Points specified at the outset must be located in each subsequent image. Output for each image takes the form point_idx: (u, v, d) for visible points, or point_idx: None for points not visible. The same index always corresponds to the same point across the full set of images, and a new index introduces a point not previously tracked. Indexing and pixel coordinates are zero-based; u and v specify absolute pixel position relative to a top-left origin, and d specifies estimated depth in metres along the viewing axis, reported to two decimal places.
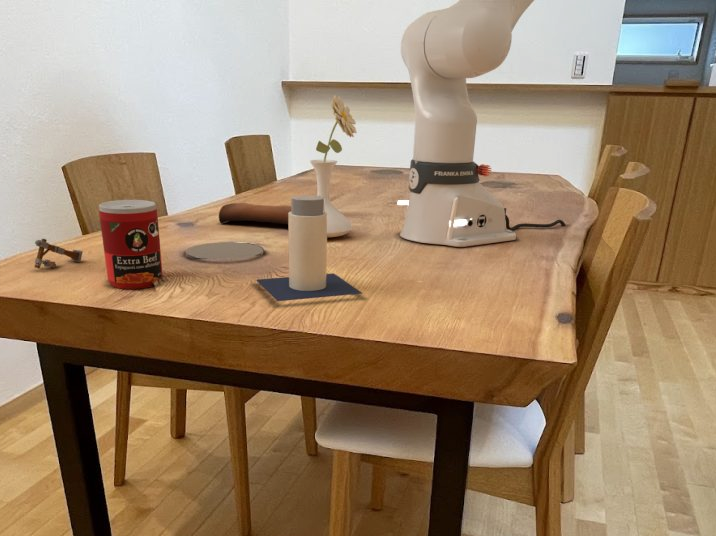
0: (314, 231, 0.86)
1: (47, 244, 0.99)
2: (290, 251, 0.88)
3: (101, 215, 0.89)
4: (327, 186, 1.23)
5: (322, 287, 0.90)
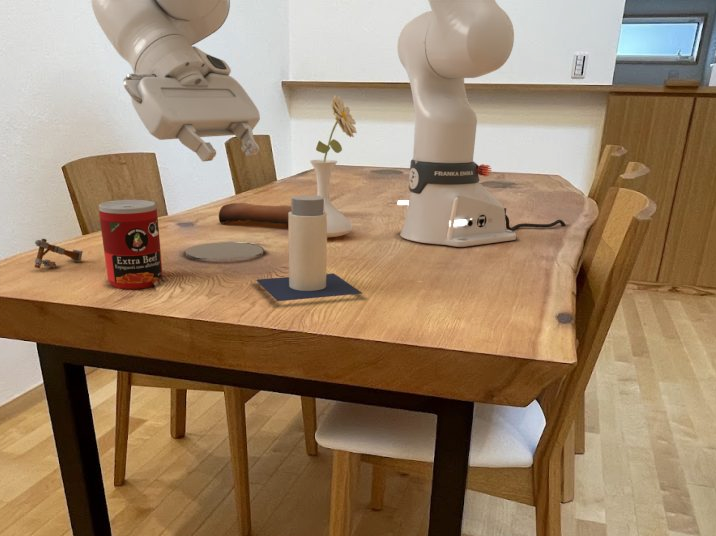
0: (314, 231, 0.86)
1: (47, 244, 0.99)
2: (290, 251, 0.88)
3: (101, 215, 0.89)
4: (327, 186, 1.23)
5: (322, 287, 0.90)
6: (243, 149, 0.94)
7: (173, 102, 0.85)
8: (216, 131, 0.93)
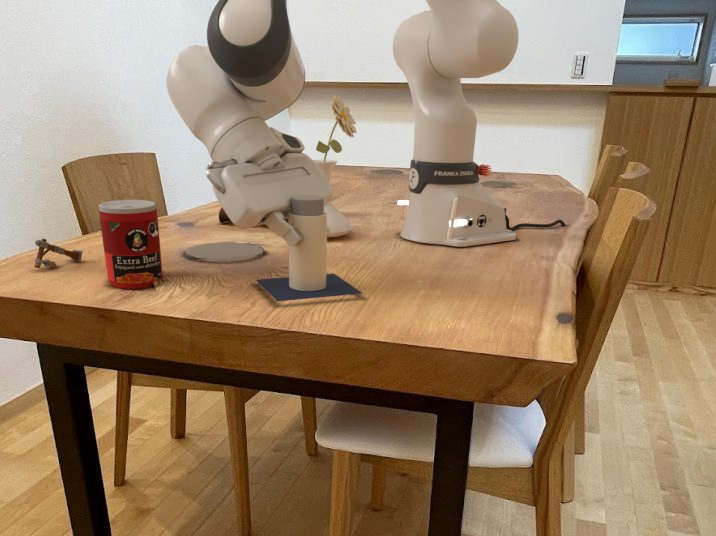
0: (314, 231, 0.86)
1: (47, 244, 0.99)
2: (290, 251, 0.88)
3: (101, 215, 0.89)
4: None
5: (322, 287, 0.90)
6: None
7: (255, 190, 0.83)
8: None
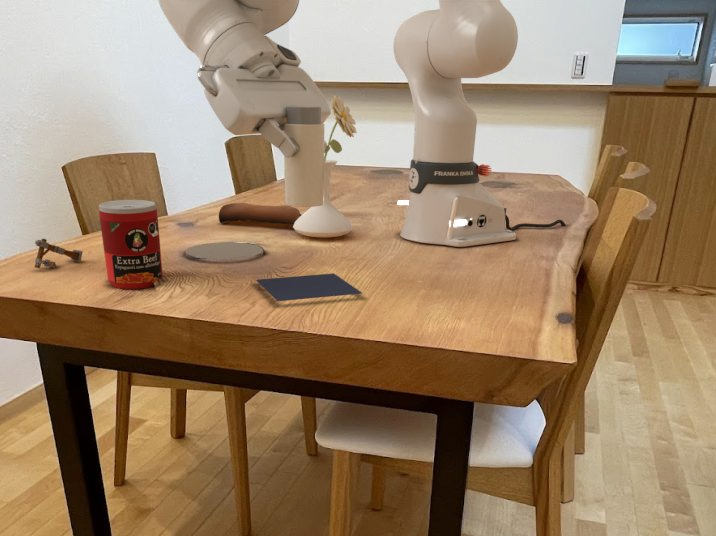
0: (310, 141, 0.83)
1: (47, 244, 0.99)
2: (286, 164, 0.85)
3: (101, 215, 0.89)
4: (327, 186, 1.23)
5: (319, 203, 0.87)
6: None
7: (249, 94, 0.79)
8: None
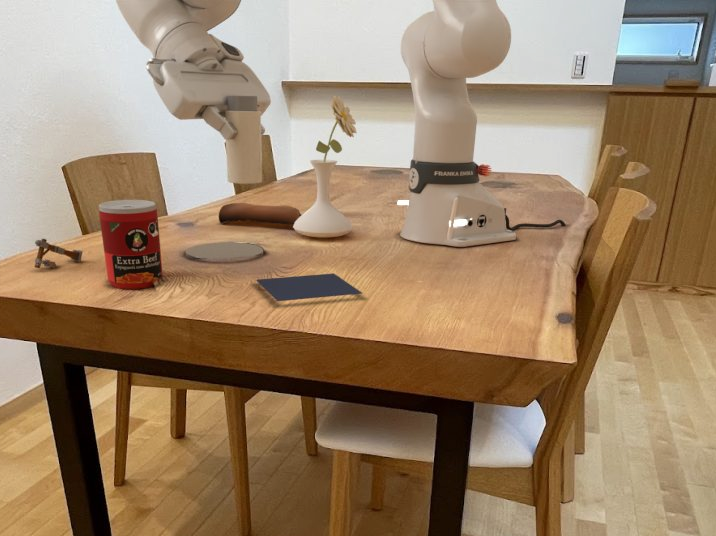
0: (247, 125, 0.95)
1: (47, 244, 0.99)
2: (227, 146, 0.97)
3: (101, 215, 0.89)
4: (327, 186, 1.23)
5: (257, 181, 0.99)
6: None
7: (192, 84, 0.91)
8: None
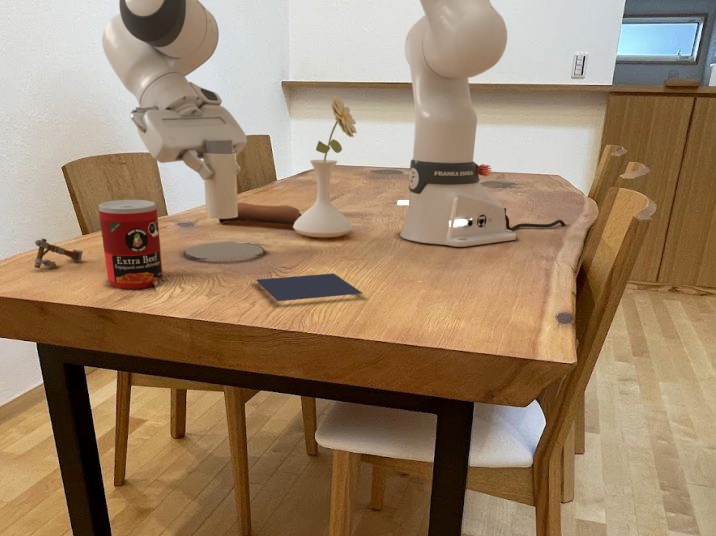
0: (223, 166, 1.04)
1: (47, 244, 0.99)
2: (205, 184, 1.06)
3: (101, 215, 0.89)
4: (327, 186, 1.23)
5: (233, 216, 1.08)
6: None
7: (172, 131, 1.01)
8: None
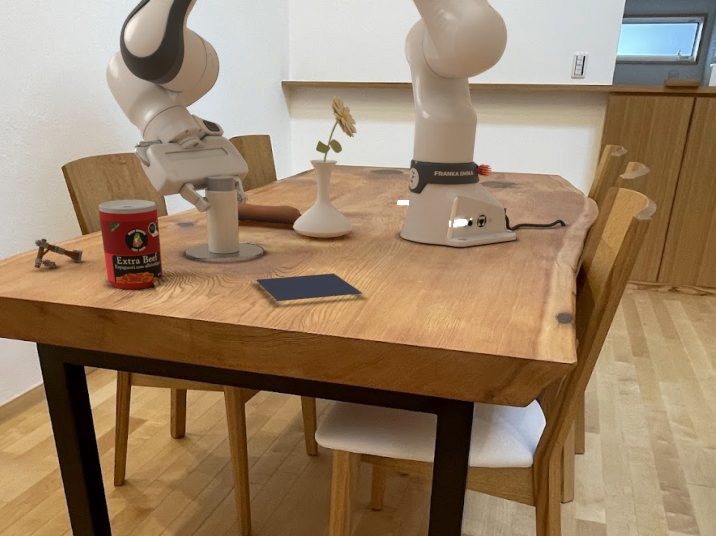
0: (225, 203, 1.06)
1: (47, 244, 0.99)
2: (207, 220, 1.09)
3: (101, 215, 0.89)
4: (327, 186, 1.23)
5: (235, 251, 1.10)
6: None
7: (175, 164, 1.03)
8: None
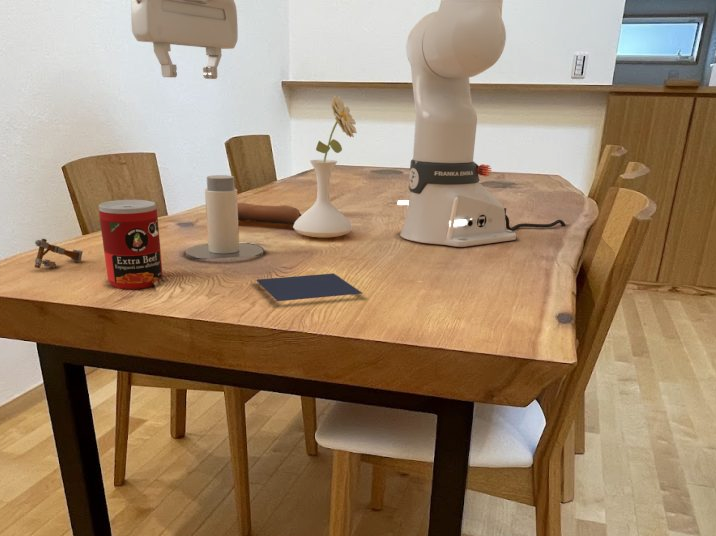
0: (225, 203, 1.06)
1: (47, 244, 0.99)
2: (207, 220, 1.09)
3: (101, 215, 0.89)
4: (327, 186, 1.23)
5: (235, 251, 1.10)
6: (204, 69, 1.07)
7: (165, 18, 0.95)
8: None
